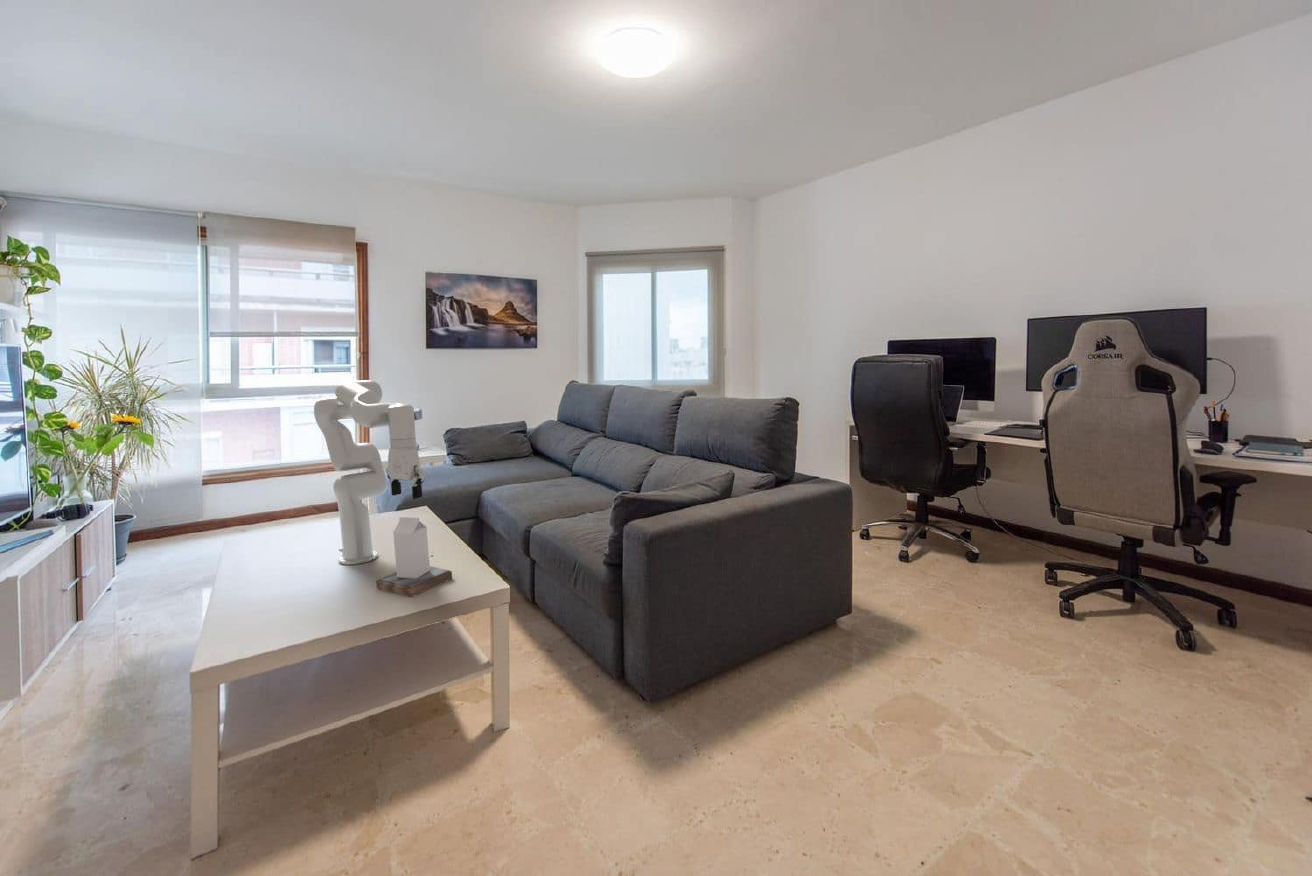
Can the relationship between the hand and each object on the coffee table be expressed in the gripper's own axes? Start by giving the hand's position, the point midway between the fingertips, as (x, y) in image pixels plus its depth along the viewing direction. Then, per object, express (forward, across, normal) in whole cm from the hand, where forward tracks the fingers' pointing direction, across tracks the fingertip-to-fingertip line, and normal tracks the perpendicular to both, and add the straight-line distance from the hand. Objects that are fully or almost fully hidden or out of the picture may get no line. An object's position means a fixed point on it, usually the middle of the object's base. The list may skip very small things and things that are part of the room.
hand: (406, 496), depth 182 cm
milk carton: (+26, +2, -2) cm, 26 cm away
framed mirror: (+28, +3, -2) cm, 28 cm away
